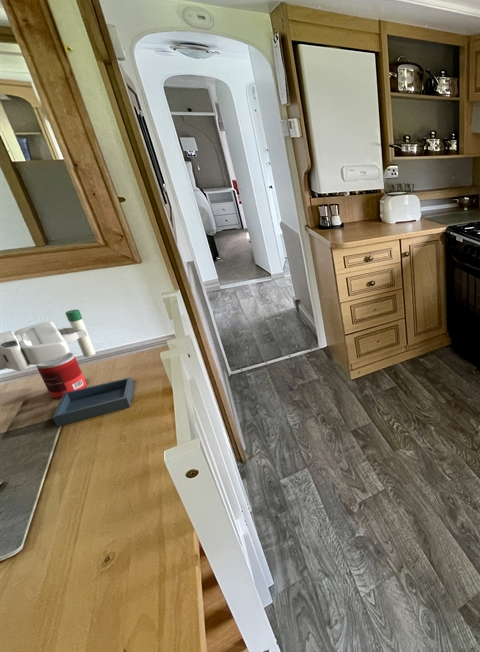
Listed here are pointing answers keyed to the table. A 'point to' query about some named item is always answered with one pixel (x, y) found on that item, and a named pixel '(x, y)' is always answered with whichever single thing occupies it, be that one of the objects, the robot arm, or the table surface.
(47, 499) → the table surface
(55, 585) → the table surface
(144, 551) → the table surface
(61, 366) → the canned food
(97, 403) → the tray
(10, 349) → the robot arm
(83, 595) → the table surface
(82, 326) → the marker
